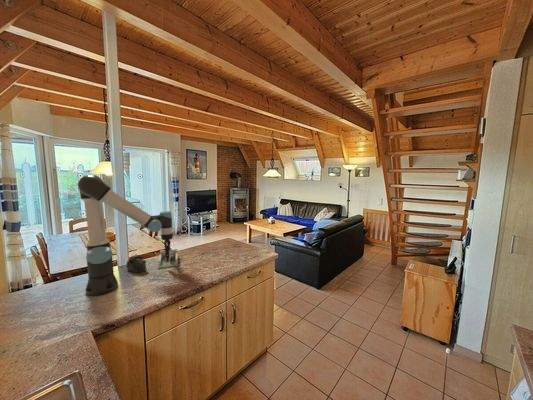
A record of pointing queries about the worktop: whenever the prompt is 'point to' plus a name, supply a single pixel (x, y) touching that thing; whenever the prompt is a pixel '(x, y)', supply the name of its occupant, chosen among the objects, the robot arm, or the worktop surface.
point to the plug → (171, 256)
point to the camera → (136, 264)
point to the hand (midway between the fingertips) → (168, 262)
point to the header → (172, 263)
